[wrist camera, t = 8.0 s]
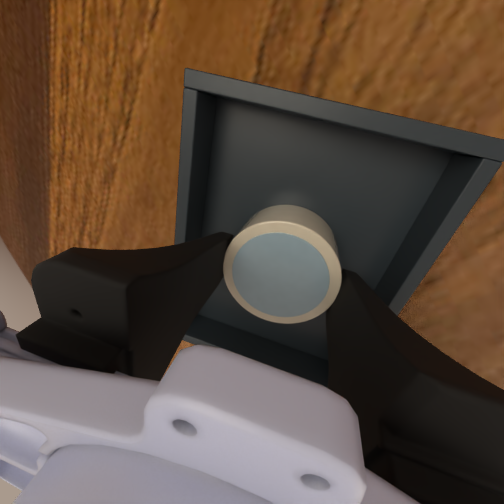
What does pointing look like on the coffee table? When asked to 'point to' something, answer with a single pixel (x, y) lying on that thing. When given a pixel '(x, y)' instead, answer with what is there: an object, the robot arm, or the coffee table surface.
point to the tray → (320, 197)
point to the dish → (284, 265)
